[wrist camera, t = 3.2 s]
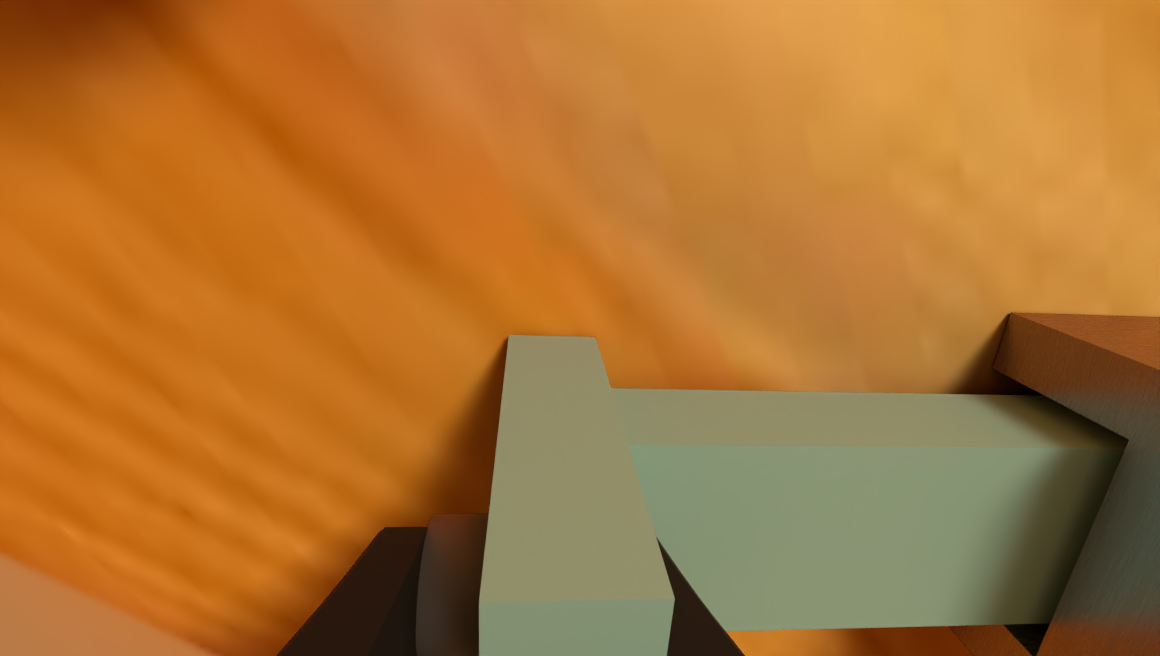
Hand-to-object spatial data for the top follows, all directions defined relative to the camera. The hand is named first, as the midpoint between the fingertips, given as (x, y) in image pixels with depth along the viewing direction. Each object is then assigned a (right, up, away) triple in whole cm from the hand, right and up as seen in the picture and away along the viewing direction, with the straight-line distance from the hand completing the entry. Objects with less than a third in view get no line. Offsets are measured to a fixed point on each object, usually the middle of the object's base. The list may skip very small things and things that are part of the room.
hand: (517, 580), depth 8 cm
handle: (+5, +1, +3) cm, 6 cm away
